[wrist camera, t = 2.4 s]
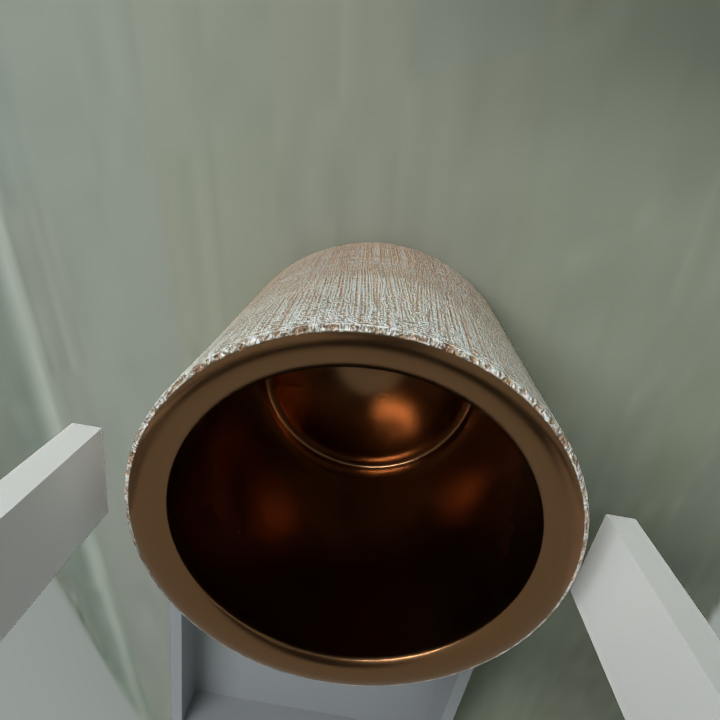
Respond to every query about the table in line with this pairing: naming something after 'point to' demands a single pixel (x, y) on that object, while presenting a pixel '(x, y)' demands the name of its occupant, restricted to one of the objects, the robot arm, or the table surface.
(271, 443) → the planter
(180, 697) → the tray
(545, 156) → the table surface
